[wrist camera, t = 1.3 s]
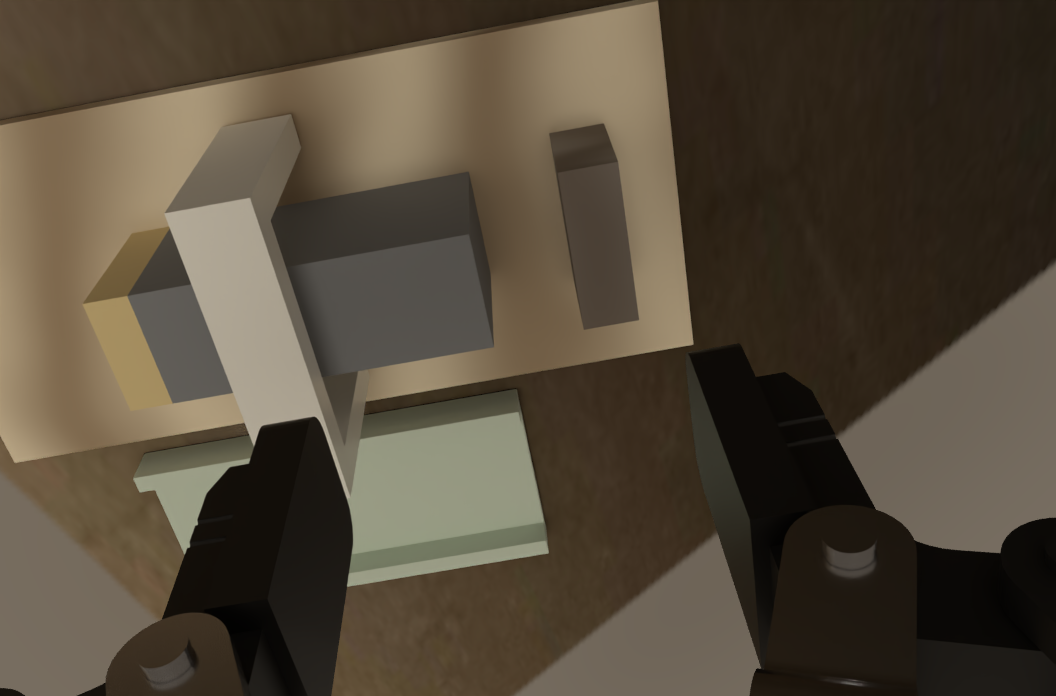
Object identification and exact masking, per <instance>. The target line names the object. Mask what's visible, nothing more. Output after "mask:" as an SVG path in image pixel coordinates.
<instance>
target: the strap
mask: <svg viewBox="0 0 1056 696" xmlns="http://www.w3.org/2000/svg"><path fill="white" fill-rule="evenodd" d="M300 150H301V145H300V142H299V139H298V135H297V132H296V129H295V125H294V122H293V119H292V115H291V114H288V115H283V116H278V117H272V118H267V119H262V120H256V121H251V122H246V123H240V124H235V125H230V126H224V127H221V128H220V130H219V131H218V133H217V134H216V136H215V137H214V139H213V140H212V142H211V144H210V145H209V147H208V148H207V150H206V151H205V153H204V154H203V156H202V157H201V159H200V160H199V162H198V163H197V165H196V166H195V168H194V169H193V171H192V172H191V174H190V175H189V177H188V178H187V180H186V181H185V183H184V184H183V186H182V187H181V189H180V190H179V192H178V193H177V195H176V196H175V198H174V199H173V201H172V202H171V204H170V205H169V207H168V209H167V210H166V212H165V213H164V214H165V217H166V220H167V222H168V225H169V227H170V230H171V233H172V235H173V238H174V240H175V243H176V246H177V248H178V251H179V253H180V256H181V259H182V261H183V264H184V266H185V269H186V272H187V274H188V277H189V279H190V282H191V285H192V287H193V290H194V292H195V295H196V298H197V300H198V303H199V305H200V308H201V311H202V313H203V316H204V318H205V321H206V324H207V326H208V329H209V331H210V334H211V336H212V339H213V342H214V344H215V347H216V349H217V352H218V355H219V357H220V360H221V362H222V365H223V368H224V370H225V373H226V375H227V378H228V381H229V383H230V386H231V388H232V391H233V394H234V396H235V399H236V401H237V404H238V407H239V409H240V412H241V414H242V417H243V420H244V422H245V425H246V427H247V430H248V433H249V435H250V438H251V440H252V443H253V446H254V445H255V442H256V439H257V435H258V432H259V430H260V428H261V426H263V425H268V424H273V423H279V422H285V421H291V420H296V419H302V418H308V417H316V418H317V419H318V420H319V421H320V423H321V425H322V427H323V430H324V433H325V436H326V439H327V442H328V445H329V447H330V450H331V453H332V456H333V459H334V462H335V465H336V468H337V471H338V474H339V477H340V480H341V483H342V486H343V489H344V492H345V495H346V498H347V499H348V498H351V492H352V486H353V479H354V473H355V467H356V460H357V454H358V448H359V441H360V435H361V429H362V422H363V416H364V410H365V403H366V397H367V390H368V384H369V378H370V376H369V373H368V369H367V370H362V371H356V372H350V373H345V374H339V375H333V376H327V377H322V376H321V373H320V370H319V367H318V364H317V361H316V358H315V355H314V351H313V348H312V345H311V342H310V339H309V336H308V333H307V330H306V327H305V324H304V321H303V318H302V315H301V312H300V309H299V306H298V303H297V300H296V297H295V294H294V291H293V287H292V284H291V281H290V278H289V275H288V272H287V269H286V266H285V263H284V260H283V257H282V254H281V251H280V248H279V245H278V242H277V239H276V236H275V233H274V230H273V227H272V223H271V218H272V216H273V213H274V211H275V209H276V206H277V204H278V202H279V199H280V197H281V195H282V192H283V190H284V187H285V185H286V183H287V180H288V178H289V176H290V173H291V171H292V169H293V166H294V164H295V161H296V159H297V157H298V154H299V152H300Z"/></svg>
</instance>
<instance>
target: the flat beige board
mask: <svg viewBox="0 0 1056 696" xmlns="http://www.w3.org/2000/svg"><path fill="white" fill-rule="evenodd" d="M288 114H291V115H292V119H293V122H294V125H295V129H296V132H297V135H298V139H299V142H300V145H301V150H300V152H299V154H298V157H297V159H296V161H295V164H294V166H293V169H292V171H291V173H290V176H289V178H288V180H287V183H286V185H285V187H284V190H283V192H282V195H281V197H280V199H279V202H278V204H277V206H276V207H278V206H284V205H289V204H295V203H300V202H306V201H311V200H317V199H322V198H327V197H333V196H338V195H344V194H349V193H355V192H360V191H366V190H371V189H377V188H382V187H387V186H393V185H398V184H404V183H409V182H415V181H420V180H426V179H431V178H437V177H442V176H448V175H453V174H458V173H464V172H469V175H470V179H471V184H472V189H473V193H474V198H475V203H476V207H477V212H478V217H479V221H480V226H481V231H482V235H483V240H484V245H485V249H486V254H487V259H488V264H489V268H490V273H491V291H492V313H493V335H494V347H493V348H487V349H481V350H476V351H470V352H464V353H458V354H453V355H447V356H441V357H436V358H430V359H424V360H419V361H413V362H407V363H401V364H396V365H390V366H384V367H379V368H373V369H368V373H369V376H370V378H369V384H368V390H367V397H366V402H367V401H372V400H378V399H384V398H390V397H395V396H401V395H407V394H413V393H418V392H424V391H430V390H436V389H441V388H447V387H453V386H459V385H464V384H470V383H476V382H481V381H487V380H493V379H499V378H504V377H510V376H516V375H522V374H527V373H533V372H539V371H545V370H550V369H556V368H562V367H568V366H573V365H579V364H585V363H591V362H596V361H602V360H608V359H613V358H619V357H625V356H631V355H636V354H642V353H648V352H654V351H659V350H665V349H671V348H677V347H682V346H688V345H693V336H692V326H691V317H690V307H689V297H688V288H687V278H686V268H685V259H684V249H683V239H682V230H681V220H680V210H679V201H678V191H677V181H676V171H675V162H674V152H673V142H672V133H671V123H670V113H669V104H668V94H667V84H666V75H665V65H664V55H663V46H662V36H661V26H660V16H659V7H658V1H657V0H633V1H628V2H623V3H618V4H612V5H607V6H602V7H596V8H591V9H586V10H581V11H575V12H570V13H565V14H559V15H554V16H549V17H544V18H538V19H533V20H528V21H522V22H517V23H512V24H507V25H501V26H496V27H491V28H485V29H480V30H475V31H470V32H464V33H459V34H454V35H448V36H443V37H438V38H433V39H427V40H422V41H417V42H411V43H406V44H401V45H396V46H390V47H385V48H380V49H374V50H369V51H364V52H359V53H353V54H348V55H343V56H337V57H332V58H327V59H322V60H316V61H311V62H306V63H300V64H295V65H290V66H285V67H279V68H274V69H269V70H263V71H258V72H253V73H248V74H242V75H237V76H232V77H226V78H221V79H216V80H211V81H205V82H200V83H195V84H189V85H184V86H179V87H174V88H168V89H163V90H158V91H152V92H147V93H142V94H137V95H131V96H126V97H121V98H115V99H110V100H105V101H100V102H94V103H89V104H84V105H78V106H73V107H68V108H63V109H57V110H52V111H47V112H42V113H36V114H31V115H26V116H20V117H15V118H10V119H5V120H0V436H1V438H2V440H3V442H4V444H5V445H6V447H7V449H8V451H9V453H10V455H11V457H12V458H13V460H14V462H15V463H17V462H22V461H28V460H34V459H40V458H45V457H51V456H57V455H63V454H68V453H74V452H80V451H85V450H91V449H97V448H103V447H108V446H114V445H120V444H126V443H131V442H137V441H143V440H149V439H154V438H160V437H166V436H172V435H177V434H183V433H189V432H195V431H200V430H206V429H212V428H217V427H223V426H229V425H235V424H240V423H245V422H244V420H243V417H242V414H241V412H240V409H239V407H238V404H237V401H236V399H235V396H234V394H233V393H231V394H225V395H219V396H214V397H208V398H202V399H196V400H191V401H185V402H179V403H174V404H168V405H162V406H157V407H151V408H145V409H140V410H134V411H130V408H129V406H128V404H127V402H126V400H125V397H124V395H123V393H122V391H121V389H120V386H119V384H118V382H117V380H116V378H115V375H114V373H113V371H112V369H111V366H110V364H109V362H108V360H107V358H106V355H105V353H104V351H103V349H102V347H101V344H100V342H99V340H98V338H97V336H96V333H95V331H94V329H93V327H92V324H91V322H90V320H89V318H88V316H87V313H86V311H85V309H84V307H83V305H82V304H83V302H84V301H85V300H86V298H87V297H88V295H89V294H90V292H91V291H92V290H93V288H94V287H95V285H96V284H97V282H98V281H99V280H100V278H101V277H102V275H103V274H104V272H105V271H106V270H107V268H108V267H109V265H110V264H111V262H112V261H113V260H114V258H115V257H116V255H117V254H118V252H119V251H120V250H121V248H122V247H123V245H124V244H125V242H126V241H127V240H128V238H129V237H130V235H131V234H132V233H136V232H142V231H147V230H153V229H158V228H164V227H169V225H168V222H167V220H166V217H165V214H164V213H165V212H166V210H167V209H168V207H169V205H170V204H171V202H172V201H173V199H174V198H175V196H176V195H177V193H178V192H179V190H180V189H181V187H182V186H183V184H184V183H185V181H186V180H187V178H188V177H189V175H190V174H191V172H192V171H193V169H194V168H195V166H196V165H197V163H198V162H199V160H200V159H201V157H202V156H203V154H204V153H205V151H206V150H207V148H208V147H209V145H210V144H211V142H212V140H213V139H214V137H215V136H216V134H217V133H218V131H219V130H220V128H221V127H224V126H230V125H235V124H240V123H246V122H251V121H256V120H262V119H267V118H272V117H278V116H283V115H288Z"/></svg>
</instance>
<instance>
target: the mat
mask: <svg viewBox="0 0 1056 696" xmlns="http://www.w3.org/2000/svg"><path fill="white" fill-rule="evenodd" d="M253 448H254V446H253V443H252V440H251V438H250V435H248V436H242V437H236V438H231V439H225V440H219V441H213V442H208V443H202V444H196V445H190V446H185V447H179V448H173V449H167V450H162V451H156V452H150V453H145V454H144V456H143V458H142V460H141V463H140V465H139V467H138V469H137V471H136V473H135V476H134V478H133V479H134V481H135V483H136V486H137V488H138V490H139V492H145V491H151V490H155V491H156V493H157V495H158V497H159V500H160V502H161V504H162V506H163V508H164V510H165V513H166V515H167V517H168V519H169V521H170V524H171V526H172V528H173V530H174V532H175V534H176V537H177V539H178V541H179V543H180V545H181V547H182V550H183V552H184V554H185V553H186V550H187V548H189V547H190V543H189V542H190V539H191V536H192V533H193V530H194V528H195V525H198V521H197V519H198V516H199V513H200V511H201V508H202V505H203V502H204V499H205V496H206V494H207V492H208V491H209V490H210V489H211V488H212V487H213V485H214V484H215V483H216V482H217V481H218V480H219V479H220V477H221V476H222V475H223V474H224V473H225V472H226V471H227V469H228V468H229V467H232V466H238V465H244V464H249V461H250V458H251V455H252V452H253ZM347 501H348V504H349V508H350V513H351V519H352V526H353V549H352V556H351V563H350V569H349V576H348V583H347V587H348V586H354V585H360V584H366V583H372V582H378V581H384V580H390V579H396V578H402V577H408V576H414V575H420V574H426V573H432V572H438V571H445V570H451V569H457V568H463V567H469V566H475V565H481V564H487V563H493V562H499V561H505V560H511V559H517V558H523V557H529V556H535V555H541V554H547V553H549V551H548V541H547V531H546V525H545V520H544V515H543V511H542V506H541V501H540V496H539V492H538V487H537V482H536V478H535V473H534V468H533V464H532V459H531V454H530V449H529V445H528V440H527V435H526V431H525V426H524V421H523V417H522V412H521V407H520V402H519V398H518V393H517V389H513V390H507V391H501V392H496V393H490V394H484V395H478V396H472V397H467V398H461V399H455V400H449V401H444V402H438V403H432V404H426V405H421V406H415V407H409V408H403V409H398V410H392V411H386V412H380V413H375V414H369V415H364V416H363V422H362V429H361V435H360V441H359V448H358V454H357V460H356V467H355V473H354V479H353V486H352V492H351V498H348V499H347Z"/></svg>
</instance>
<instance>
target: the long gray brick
mask: <svg viewBox="0 0 1056 696" xmlns="http://www.w3.org/2000/svg"><path fill="white" fill-rule="evenodd" d="M271 223H272V227H273V230H274V233H275V236H276V239H277V242H278V245H279V248H280V251H281V254H282V257H283V260H284V263H285V266H286V269H287V272H288V275H289V278H290V281H291V284H292V287H293V291H294V294H295V297H296V300H297V303H298V306H299V309H300V312H301V315H302V318H303V321H304V324H305V327H306V330H307V333H308V336H309V339H310V342H311V345H312V348H313V351H314V355H315V358H316V361H317V364H318V367H319V370H320V373H321V376H322V377H327V376H333V375H339V374H345V373H350V372H356V371H362V370H367V369H373V368H379V367H384V366H390V365H396V364H401V363H407V362H413V361H419V360H424V359H430V358H436V357H441V356H447V355H453V354H458V353H464V352H470V351H476V350H481V349H487V348H493V347H494V335H493V313H492V291H491V273H490V268H489V264H488V259H487V254H486V249H485V245H484V240H483V235H482V231H481V226H480V221H479V217H478V212H477V207H476V203H475V198H474V193H473V189H472V184H471V179H470V175H469V172H464V173H458V174H453V175H448V176H442V177H437V178H431V179H426V180H420V181H415V182H409V183H404V184H398V185H393V186H387V187H382V188H377V189H371V190H366V191H360V192H355V193H349V194H344V195H338V196H333V197H327V198H322V199H317V200H311V201H306V202H300V203H295V204H289V205H284V206H278V207H276V209H275V211H274V213H273V216H272V218H271ZM82 305H83V307H84V309H85V311H86V313H87V316H88V318H89V320H90V322H91V324H92V327H93V329H94V331H95V333H96V336H97V338H98V340H99V342H100V344H101V347H102V349H103V351H104V353H105V355H106V358H107V360H108V362H109V364H110V366H111V369H112V371H113V373H114V375H115V378H116V380H117V382H118V384H119V386H120V389H121V391H122V393H123V395H124V397H125V400H126V402H127V404H128V406H129V408H130V411H134V410H140V409H145V408H151V407H157V406H162V405H168V404H174V403H179V402H185V401H191V400H196V399H202V398H208V397H214V396H219V395H225V394H231V393H233V391H232V388H231V386H230V383H229V381H228V378H227V375H226V373H225V370H224V368H223V365H222V362H221V360H220V357H219V355H218V352H217V349H216V347H215V344H214V342H213V339H212V336H211V334H210V331H209V329H208V326H207V324H206V321H205V318H204V316H203V313H202V311H201V308H200V305H199V303H198V300H197V298H196V295H195V292H194V290H193V287H192V285H191V282H190V279H189V277H188V274H187V272H186V269H185V266H184V264H183V261H182V259H181V256H180V253H179V251H178V248H177V246H176V243H175V240H174V238H173V235H172V233H171V230H170V227H164V228H158V229H153V230H147V231H142V232H136V233H132V234H131V235H130V237H129V238H128V240H127V241H126V242H125V244H124V245H123V247H122V248H121V250H120V251H119V252H118V254H117V255H116V257H115V258H114V260H113V261H112V262H111V264H110V265H109V267H108V268H107V270H106V271H105V272H104V274H103V275H102V277H101V278H100V280H99V281H98V282H97V284H96V285H95V287H94V288H93V290H92V291H91V292H90V294H89V295H88V297H87V298H86V300H85V301H84V302H83V304H82Z"/></svg>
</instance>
